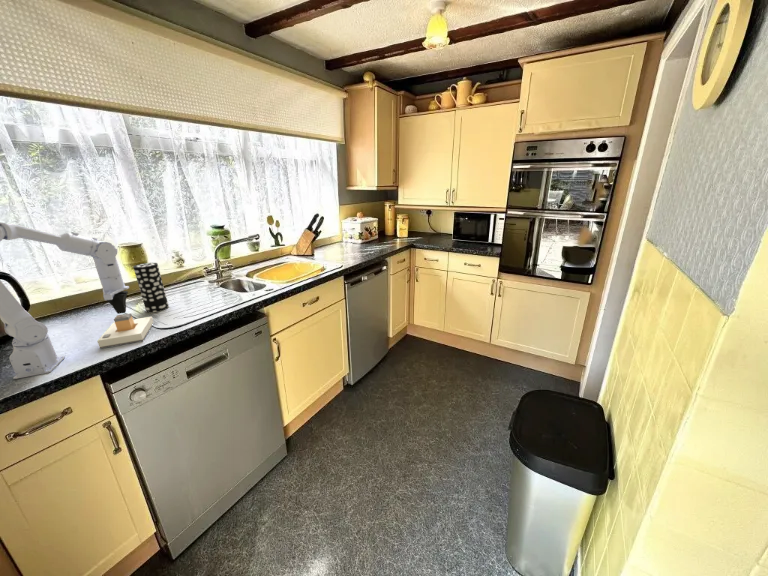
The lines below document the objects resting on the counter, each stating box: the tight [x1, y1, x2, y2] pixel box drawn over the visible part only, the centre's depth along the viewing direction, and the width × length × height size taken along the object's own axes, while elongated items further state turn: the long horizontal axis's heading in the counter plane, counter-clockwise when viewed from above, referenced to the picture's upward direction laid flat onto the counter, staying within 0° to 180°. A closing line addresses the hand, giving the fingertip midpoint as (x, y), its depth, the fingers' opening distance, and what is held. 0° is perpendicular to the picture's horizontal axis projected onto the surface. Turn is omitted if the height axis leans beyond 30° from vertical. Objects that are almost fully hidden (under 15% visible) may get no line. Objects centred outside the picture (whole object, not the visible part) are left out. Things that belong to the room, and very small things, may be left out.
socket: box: [97, 316, 154, 350], centre depth 112 cm, size 16×12×3 cm
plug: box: [113, 312, 135, 332], centre depth 111 cm, size 4×4×7 cm
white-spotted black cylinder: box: [133, 262, 170, 313], centre depth 133 cm, size 8×8×20 cm
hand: (121, 312), depth 110 cm, fingers closed
